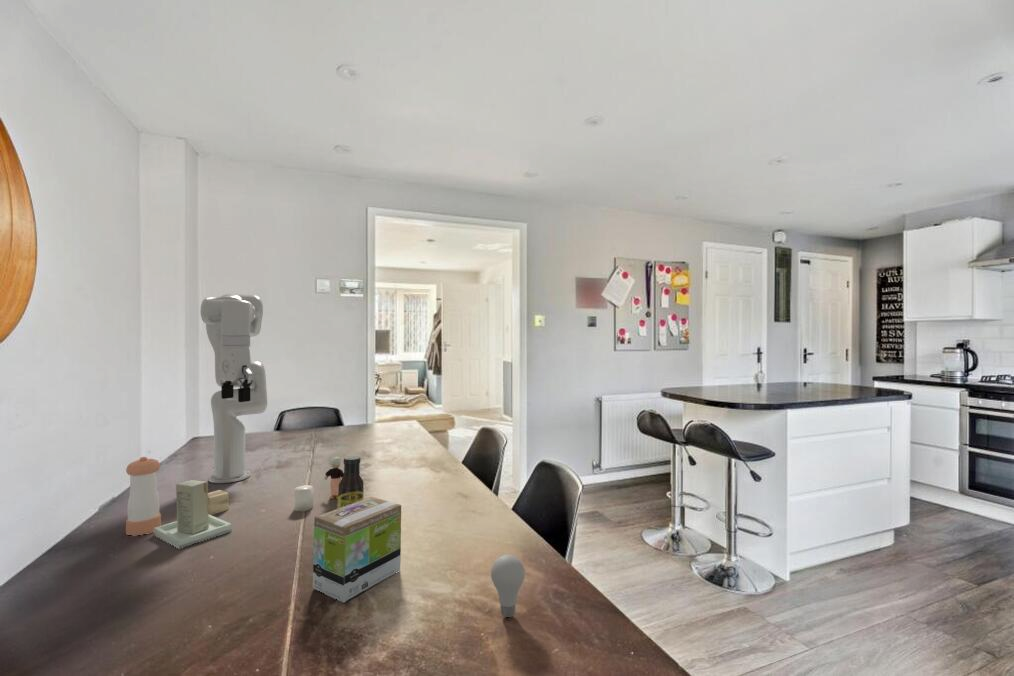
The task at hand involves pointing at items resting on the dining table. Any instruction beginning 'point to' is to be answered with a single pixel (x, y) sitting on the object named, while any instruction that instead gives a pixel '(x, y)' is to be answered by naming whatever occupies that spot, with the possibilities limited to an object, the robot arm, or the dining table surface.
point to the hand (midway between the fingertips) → (235, 399)
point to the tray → (186, 539)
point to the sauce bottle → (350, 483)
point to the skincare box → (192, 506)
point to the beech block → (218, 502)
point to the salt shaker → (143, 497)
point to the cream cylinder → (303, 498)
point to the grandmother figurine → (334, 476)
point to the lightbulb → (507, 581)
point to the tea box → (356, 547)
